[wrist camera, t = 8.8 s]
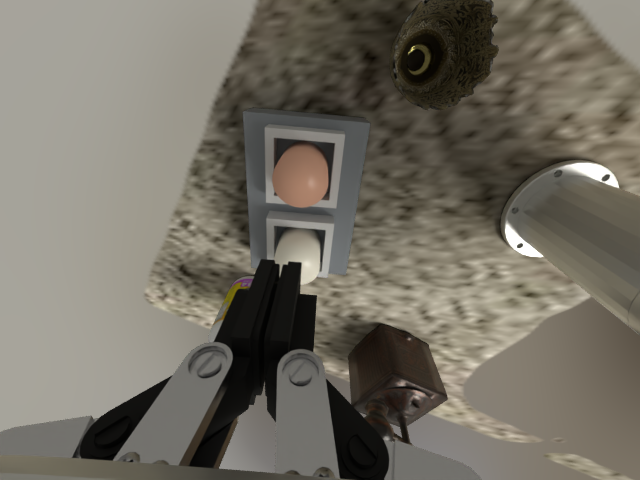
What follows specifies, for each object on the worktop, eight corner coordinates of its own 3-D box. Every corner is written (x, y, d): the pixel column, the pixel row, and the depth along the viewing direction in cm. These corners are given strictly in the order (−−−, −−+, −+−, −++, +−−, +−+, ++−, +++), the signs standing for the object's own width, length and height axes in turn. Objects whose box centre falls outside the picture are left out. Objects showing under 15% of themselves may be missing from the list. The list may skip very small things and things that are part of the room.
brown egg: (330, 143, 27) (331, 155, 22) (325, 190, 29) (325, 209, 25) (280, 138, 27) (272, 150, 22) (280, 186, 29) (272, 205, 25)
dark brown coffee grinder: (432, 342, 47) (485, 471, 31) (392, 375, 52) (420, 502, 36) (357, 306, 43) (375, 434, 28) (321, 346, 48) (319, 474, 33)
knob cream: (322, 225, 31) (321, 248, 27) (318, 260, 34) (317, 286, 29) (279, 221, 31) (272, 245, 27) (279, 257, 34) (272, 283, 29)
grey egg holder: (365, 118, 29) (373, 126, 24) (343, 257, 38) (346, 285, 33) (252, 107, 29) (236, 113, 24) (258, 250, 38) (247, 277, 33)
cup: (454, 92, 28) (497, 96, 21) (382, 111, 29) (400, 121, 22) (454, -1, 24) (505, -32, 17) (371, 25, 25) (388, 5, 18)
